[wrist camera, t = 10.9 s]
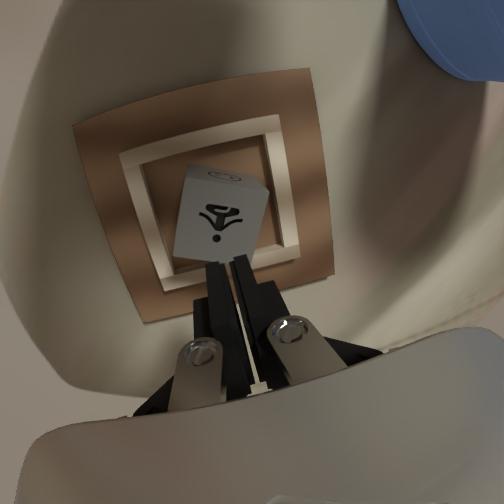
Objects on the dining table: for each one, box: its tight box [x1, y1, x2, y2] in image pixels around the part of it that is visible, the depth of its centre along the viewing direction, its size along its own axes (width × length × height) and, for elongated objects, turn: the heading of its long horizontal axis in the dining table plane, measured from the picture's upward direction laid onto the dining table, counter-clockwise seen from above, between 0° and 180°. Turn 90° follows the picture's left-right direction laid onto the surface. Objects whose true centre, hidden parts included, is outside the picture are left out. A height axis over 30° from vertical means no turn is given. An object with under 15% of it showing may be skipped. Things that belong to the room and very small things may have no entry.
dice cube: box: [173, 164, 270, 265], centre depth 21 cm, size 5×5×5 cm
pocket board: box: [72, 68, 335, 323], centre depth 23 cm, size 18×18×2 cm
